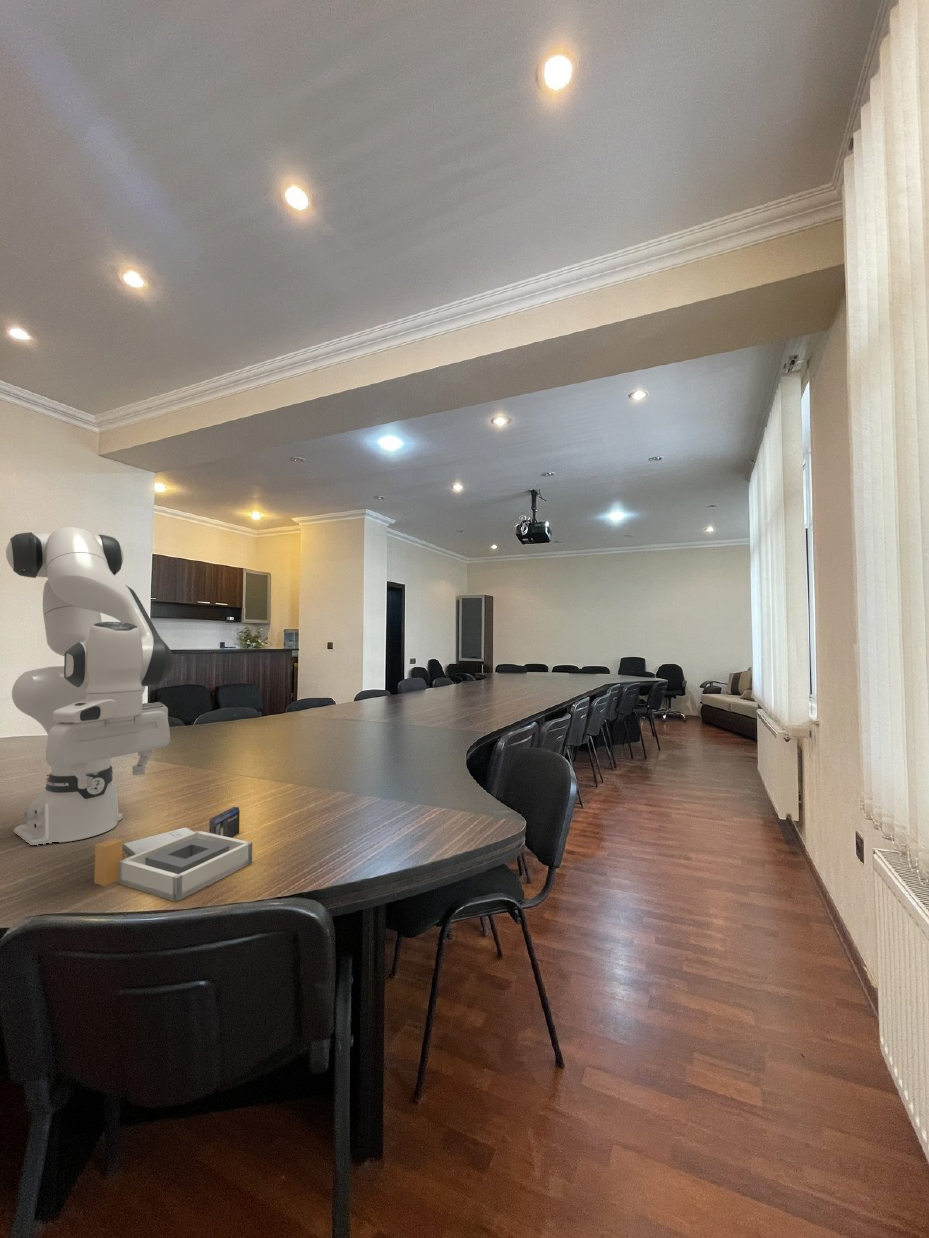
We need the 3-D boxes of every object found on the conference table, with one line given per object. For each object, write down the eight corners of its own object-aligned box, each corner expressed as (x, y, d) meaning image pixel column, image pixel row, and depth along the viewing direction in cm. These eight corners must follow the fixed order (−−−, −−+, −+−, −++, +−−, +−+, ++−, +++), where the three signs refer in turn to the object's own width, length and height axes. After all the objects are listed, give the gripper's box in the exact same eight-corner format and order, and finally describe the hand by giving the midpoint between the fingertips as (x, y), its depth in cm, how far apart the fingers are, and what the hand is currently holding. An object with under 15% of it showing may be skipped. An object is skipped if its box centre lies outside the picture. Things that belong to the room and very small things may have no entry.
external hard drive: (122, 850, 104) (185, 833, 114) (135, 861, 99) (199, 841, 109) (122, 843, 105) (185, 826, 114) (135, 853, 99) (199, 834, 109)
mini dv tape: (215, 847, 105) (215, 819, 105) (209, 847, 105) (209, 819, 105) (239, 833, 113) (239, 806, 113) (233, 832, 113) (233, 806, 113)
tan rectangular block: (94, 882, 89) (95, 843, 90) (111, 875, 92) (112, 838, 93) (104, 885, 88) (105, 846, 89) (121, 878, 91) (122, 840, 91)
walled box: (118, 883, 89) (118, 861, 89) (197, 849, 104) (197, 830, 104) (176, 901, 83) (176, 877, 83) (252, 862, 97) (252, 842, 97)
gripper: (157, 700, 103) (156, 766, 102) (41, 713, 84) (39, 794, 83) (177, 701, 100) (176, 768, 99) (62, 714, 82) (60, 798, 81)
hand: (113, 780), depth 91 cm, fingers open, 8 cm apart
